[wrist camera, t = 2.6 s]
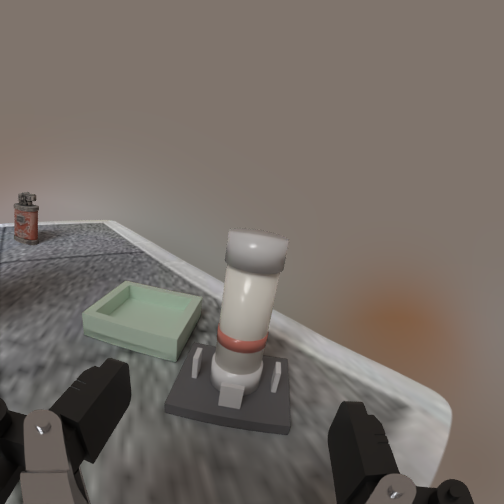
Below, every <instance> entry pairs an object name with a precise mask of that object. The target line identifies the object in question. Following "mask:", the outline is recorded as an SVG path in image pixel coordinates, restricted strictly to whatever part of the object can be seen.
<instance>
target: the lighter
mask: <svg viewBox="0 0 504 504" xmlns="http://www.w3.org/2000/svg"><path fill="white" fill-rule="evenodd" d="M18 199H19V203H16V204H14V208H15V235H14V240H16V241H18V242H20V243H23V244H27V245H36V244H38V243H39V239H38V210H39V206H36V205H32V201H36V195H35V194H30V193H29V192H26V193H22V194H18Z"/></svg>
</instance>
